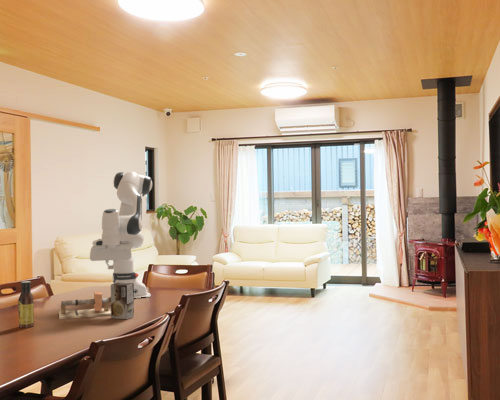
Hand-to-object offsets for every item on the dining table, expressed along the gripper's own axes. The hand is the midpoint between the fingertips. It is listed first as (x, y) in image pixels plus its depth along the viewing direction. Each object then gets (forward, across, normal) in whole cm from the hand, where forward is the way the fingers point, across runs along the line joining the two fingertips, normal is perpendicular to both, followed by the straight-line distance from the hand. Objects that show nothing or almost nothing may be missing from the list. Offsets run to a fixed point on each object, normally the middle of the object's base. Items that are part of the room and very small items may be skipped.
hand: (110, 269), depth 267 cm
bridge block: (+19, +6, +3) cm, 20 cm away
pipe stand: (+21, +12, +3) cm, 25 cm away
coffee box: (+21, -4, +17) cm, 27 cm away
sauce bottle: (+21, +39, +21) cm, 49 cm away
